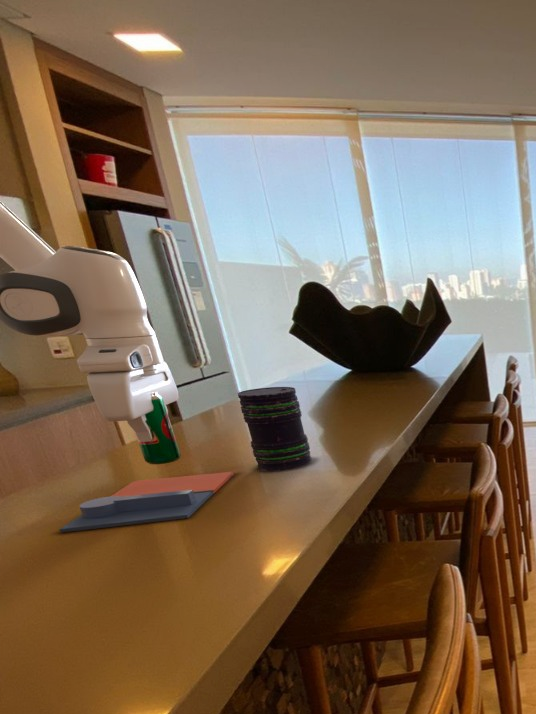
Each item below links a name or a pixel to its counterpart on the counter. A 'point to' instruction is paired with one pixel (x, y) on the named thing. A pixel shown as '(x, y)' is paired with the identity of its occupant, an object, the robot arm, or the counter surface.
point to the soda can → (159, 435)
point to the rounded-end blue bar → (135, 503)
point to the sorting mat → (202, 491)
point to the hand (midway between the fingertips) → (155, 436)
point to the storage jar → (275, 428)
